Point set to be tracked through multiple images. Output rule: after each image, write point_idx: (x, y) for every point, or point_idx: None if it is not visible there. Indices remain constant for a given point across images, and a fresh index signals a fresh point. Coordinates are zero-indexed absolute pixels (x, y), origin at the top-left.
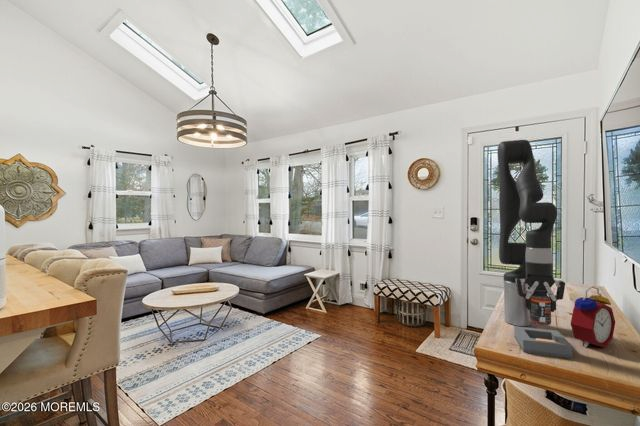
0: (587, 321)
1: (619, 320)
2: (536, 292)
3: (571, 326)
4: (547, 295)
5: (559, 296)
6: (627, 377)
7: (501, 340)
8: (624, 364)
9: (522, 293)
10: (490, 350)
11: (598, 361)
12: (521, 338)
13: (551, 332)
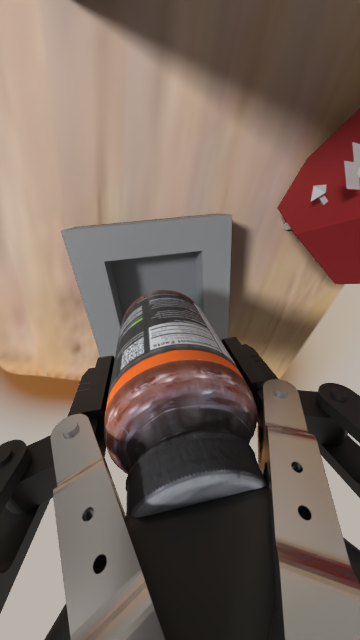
0: (357, 271)
1: None
2: None
3: (291, 227)
4: (248, 441)
5: (321, 450)
6: (279, 368)
7: (39, 285)
8: (312, 310)
9: (36, 516)
10: (29, 374)
11: (266, 319)
12: (99, 349)
13: (203, 251)
